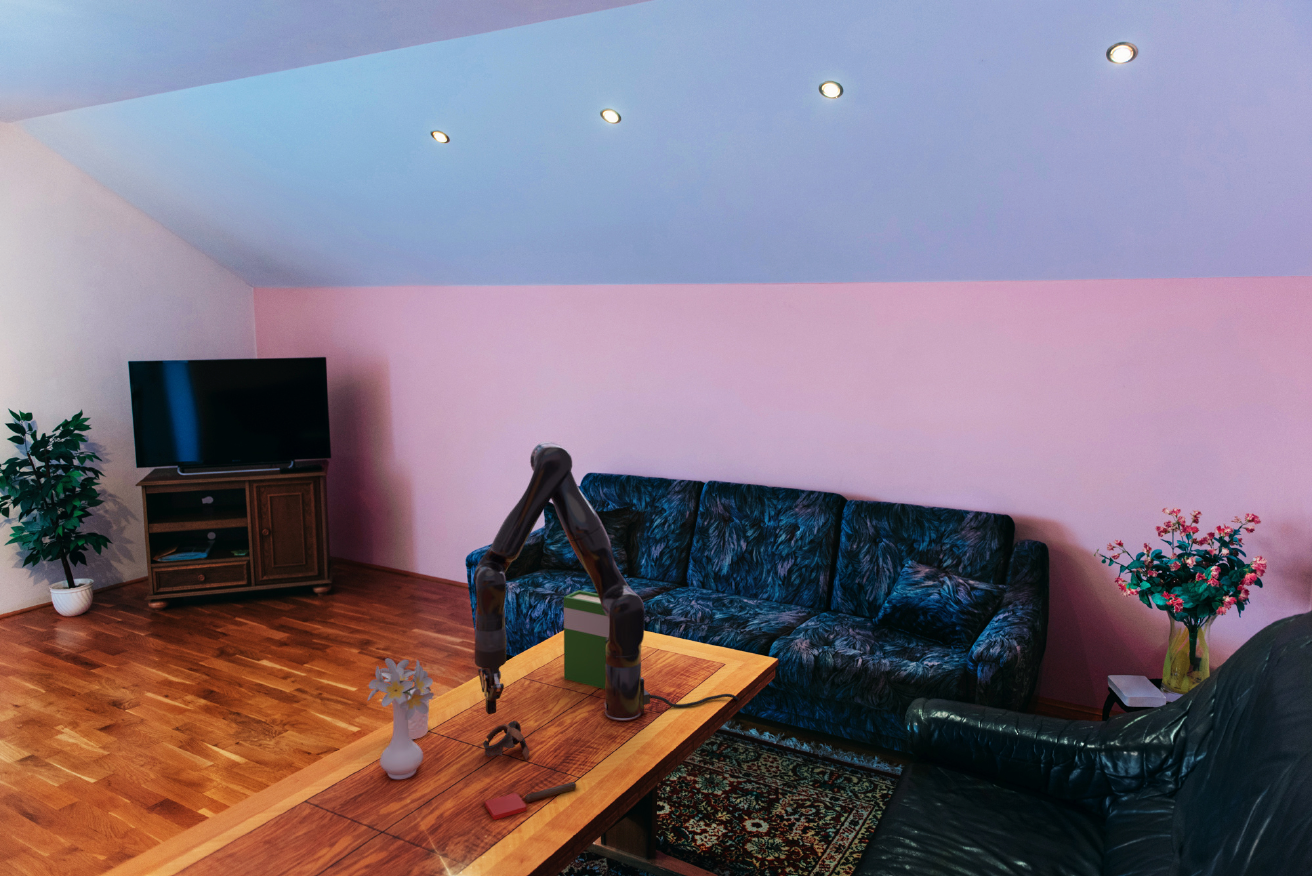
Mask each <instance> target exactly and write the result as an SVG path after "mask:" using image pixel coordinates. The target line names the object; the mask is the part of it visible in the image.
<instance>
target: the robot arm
mask: <svg viewBox="0 0 1312 876" xmlns="http://www.w3.org/2000/svg"><path fill="white" fill-rule="evenodd" d="M529 460H530V462H529V463H530V467H531V470H532V471H533V472H532V475H531V478H530V480H529V483H528V484H527V487H526V489H525V490H524V492H523V494H522V496H521V497H520V499H519V500H518V502H516V504H515V505H514V507H513V508H512V509H511V510H510V512H509V513H508V515H507V516H506V517H505V519H504V521H503V522H502V524H501V525H500V528H499V530H498V532H497V533H496V535H495V537H494V539H493V541H492V544H490V546H489V548H488V549H487V550H486V552H485V554H483V556H482V558H481V559H480V560H479V562H478V564H477V566H476V568H475V570H474V574H473V579H474V580H473V581H474V583H475V586H476V607H475V613H474V614H475V619H474V620H475V629H474V664H475V666H476V667H478V669H477V673H478V677H479V682H480V686H481V692H482V693H483V696H484V698H485V712H486V714H487V715H493V714H496V713H497V700H500V699H501V697H502V694H503V691H504V688H505V684H504V682H503V683H502V682H501V678H502V672H501V671H500V669H501V667H502V666H504V665H505V664H506V663H507V631H506V611H505V610H506V609H505V605H506V604H505V603H506V597H507V596H506V595H507V577H506V572H507V570H508V568H509V567H510V565H511V564H512V562H513V561H516V559H517V558H518V557H519V556H520V554H521V552H522V550H523V548H524V546H525V545H526V543H527V540H528V539H529V537H530V535H531V533H532V532H533V530H534V528H535V525H536V524H537V521H539V518H540V517H541V515H542V513H543V512H544V510H545V509H546V507H547V505H548V504H549V502H550V501H552V504H553V506H554V509H555V511H556V514H557V517H558V520H559V522H560V524H561V526H562V529H563V531H564V533H565V536H566V538H567V540H568V542H569V544H570V546H571V548H572V550H573V552H574V553H575V555H576V557H577V558H578V560H579V563H581V565H582V567H583V568H584V570H585V571H586V573H587V574H588V576H589V577H590V580H591V582H592V584H593V586H594V588H595V591H596V594H598V597H599V599H600V602H601V605H602V608H603V610H604V612H605V614H606V615H607V617H608V618H609V637H608V638H607V639H606V641H605V689H604V690H605V691H604V693H605V696H604V697H605V698H604V699H605V700H604V701H603V702H604V703H603V706H604V715H605V717H606V718H608V719H610V720H611V721H615V722H616V721H617V722H630V721H634V720H637V719H638V718H640V716H642V715H644V714H645V706H646V705H649V704H651V699H653V700H659V701H662V702H664V703H665V704H667V705H668V706H669V707H672V708H679V709H680V708H681V709H682V708H689V707H693V706H698V705H701V704H703V703H706V702H708V701H711V700H717V699H721V698H731V699H733V700H735V701H740V698H739V697H738V696H736V695H734V694H732V693H721V694H717V695H711V696H707V697H704V698H702V699H700V700H697V701H692V702H687V703H673V702H671V701H670V700H668V699H667V698H665V697H663V696H659V695H655V694H651V693H650V692H649V691H648V690H646V689H645V678H644V677H642V645H643V644H642V643H643V642H644V637H645V615H646V613H645V604H644V601H643V600H642V598H641V596H639V594H638V593H636V592H635V590H633V589H632V588H631V586H629V584H628V583H627V581H626V579H625V578H624V576H623V575H622V574H621V572H620V569H619V568H618V566H617V564H616V561H615V557H614V556H615V555H614V552H613V547H612V543H611V540H610V538H609V535H608V533H607V530H606V529H605V526H604V524H603V523H602V520H601V519H600V517H599V515H598V513H597V512H596V510H595V509H594V507H593V505H592V504H591V503H590V501H589V500H588V499H587V497H586V496H585V495H584V494H583V492H582V490H581V489H580V488H579V486H578V484H577V482H576V480H575V479H576V478H575V477H574V475H573V472H572V469H573V459H572V455H571V453H570V452H569V451H568V450H567V449H566V448H564V447H563V446H562V445H561V444H558V443H556V442H552V441H543V442H540V443H538V444H537V445H536V446H534V448H533V449H532V451H531V453H530V459H529Z"/></svg>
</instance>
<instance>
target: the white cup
mask: <svg viewBox="0 0 1312 876" xmlns="http://www.w3.org/2000/svg"><path fill="white" fill-rule="evenodd" d="M415 690H416V689H413V690H410V693H411V694H413V692H414V691H415ZM409 698H410V696H409V697H408V699H409ZM423 702H424V703H425V704H426V705H427V707H428V712H427V713H426V714H422V713H420V712H418V711H417V710H416V708H415V712H414V715H413V716H412V717H411V718H410V719H409V720H408V729H409V734H410V736H411V738H412V740H417V739H420V738H422V737H424V736H426V735H427V734H428V732H429V716H430V714H429V712H430V699H429V700H427V701H423ZM407 709H408V707H407Z"/></svg>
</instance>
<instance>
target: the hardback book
mask: <svg viewBox="0 0 1312 876" xmlns="http://www.w3.org/2000/svg"><path fill="white" fill-rule="evenodd" d="M608 637H609V618H608V617H607V615H606V614H605V612H604V610H603V608H602V605H601V602H600V599H599V597H598V594H597V592H590V591H586V590H580V589H578V590H576V591H574V592H572V593H569V594H567V595H565V596H563V678H564V680H566V681H567V680H568V681H572V682H576V683H579V684H583V685H587V686H591V687H595V688H599V689H603V690H605V641H606V639H607V638H608Z"/></svg>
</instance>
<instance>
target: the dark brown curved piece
mask: <svg viewBox="0 0 1312 876" xmlns="http://www.w3.org/2000/svg"><path fill="white" fill-rule="evenodd" d="M502 732H504V734H505V735H504V736H503V737H502V738H501V739H500V740H499V741H498V742H496V743H494V744H492V745H490V744H491V741H492V740H493V739H494V738H495V737H496V736H497V735H499V734H500V733H502ZM485 737H486V739H485V740H484V741H483V742H482V746H483V748H484V754H485V756H486V757H488V758H491V757H492V758H493V757H497V756H499V757H502V758H503V757H504V755H503V750H504V748H505V749H514V748H516V745H518V744H519V745H520V749H521V750H522V752H521V754H522V756H523V759H524V760H525V761H527V760H528V759H529V755H530V750H529V746H528V744H527V741H526V739H525V737H524V735H523V734H522V728H521V724H520V723H519V722H518V721H517V720H512V721H510V722H508V724H507V723H504V724H500V725H497V726H496V727H494V728H492V730H490V732H489V733H488V734H487V735H486V736H485Z"/></svg>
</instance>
